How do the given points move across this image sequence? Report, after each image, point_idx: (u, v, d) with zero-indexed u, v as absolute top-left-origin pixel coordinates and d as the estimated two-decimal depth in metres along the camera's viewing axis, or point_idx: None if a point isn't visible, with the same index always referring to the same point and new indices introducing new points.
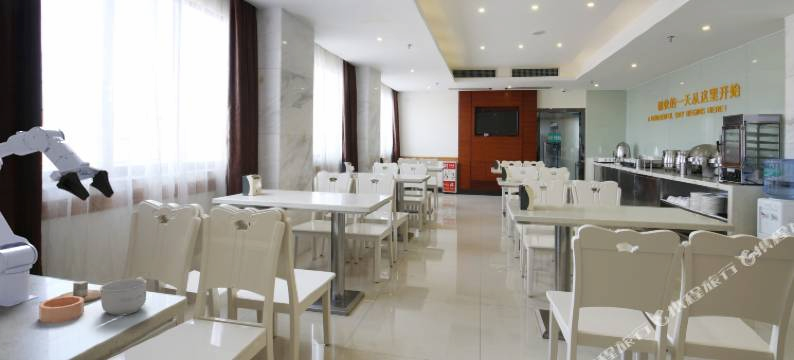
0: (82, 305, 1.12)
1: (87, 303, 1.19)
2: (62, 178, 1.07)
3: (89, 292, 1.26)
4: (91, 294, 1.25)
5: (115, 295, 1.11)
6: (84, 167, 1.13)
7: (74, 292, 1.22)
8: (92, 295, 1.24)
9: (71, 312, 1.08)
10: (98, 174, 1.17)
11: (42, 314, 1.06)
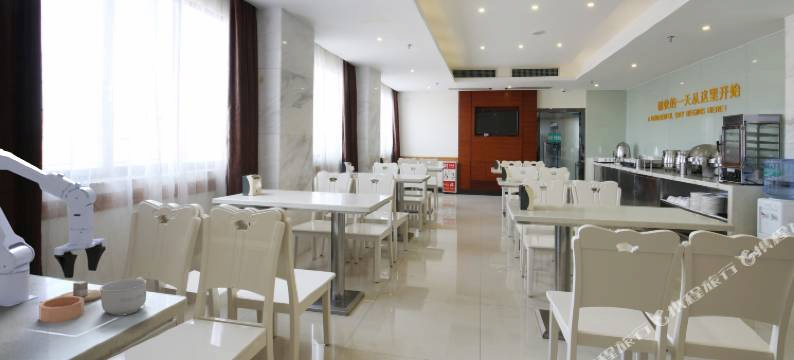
0: (82, 305, 1.12)
1: (87, 303, 1.19)
2: (62, 255, 1.16)
3: (89, 292, 1.26)
4: (91, 294, 1.25)
5: (115, 295, 1.10)
6: (88, 246, 1.22)
7: (74, 292, 1.22)
8: (92, 295, 1.24)
9: (71, 312, 1.08)
10: (96, 249, 1.26)
11: (42, 314, 1.06)
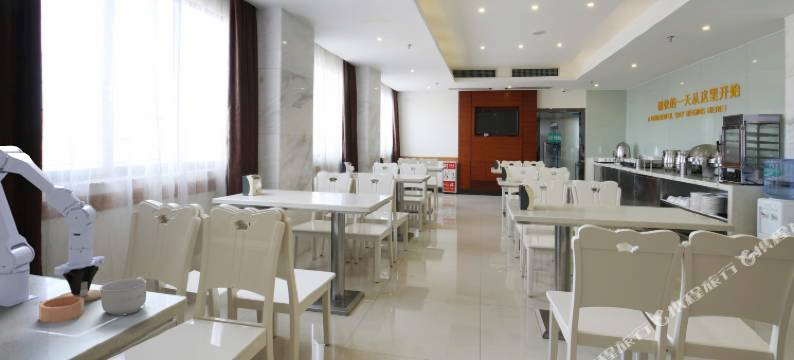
0: (82, 305, 1.12)
1: (87, 303, 1.19)
2: (70, 273, 1.19)
3: (89, 292, 1.26)
4: (91, 294, 1.25)
5: (115, 295, 1.11)
6: (88, 265, 1.22)
7: None
8: (92, 295, 1.24)
9: (71, 312, 1.08)
10: (89, 269, 1.24)
11: (42, 314, 1.06)
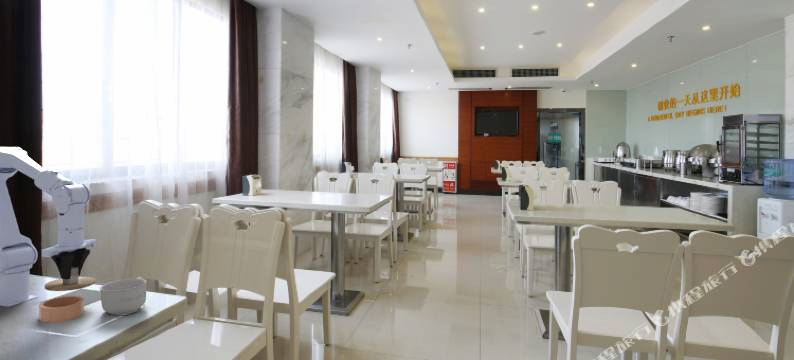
0: (82, 305, 1.12)
1: (87, 303, 1.19)
2: (59, 256, 1.11)
3: (80, 279, 1.18)
4: (82, 281, 1.16)
5: (115, 295, 1.11)
6: (79, 248, 1.14)
7: None
8: (83, 282, 1.16)
9: (71, 312, 1.08)
10: (80, 252, 1.16)
11: (42, 314, 1.06)
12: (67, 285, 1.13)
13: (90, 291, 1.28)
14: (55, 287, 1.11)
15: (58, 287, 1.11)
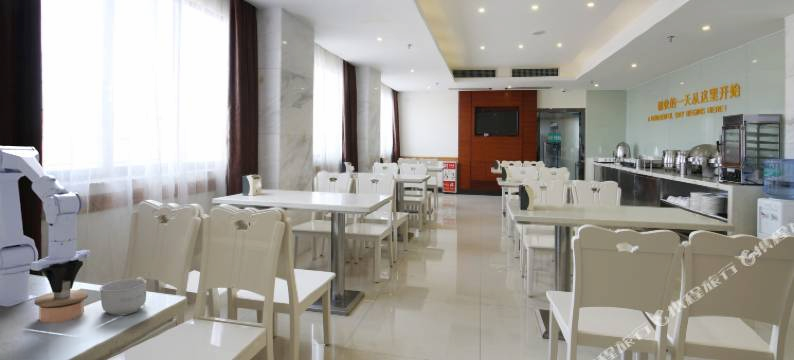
0: (82, 305, 1.12)
1: (87, 303, 1.19)
2: (49, 268, 1.06)
3: (72, 293, 1.13)
4: (74, 295, 1.11)
5: (115, 295, 1.10)
6: None
7: (55, 293, 1.09)
8: (75, 296, 1.11)
9: (71, 312, 1.08)
10: (72, 264, 1.11)
11: (42, 314, 1.06)
12: (58, 300, 1.07)
13: (90, 291, 1.28)
14: (45, 302, 1.06)
15: (48, 302, 1.06)
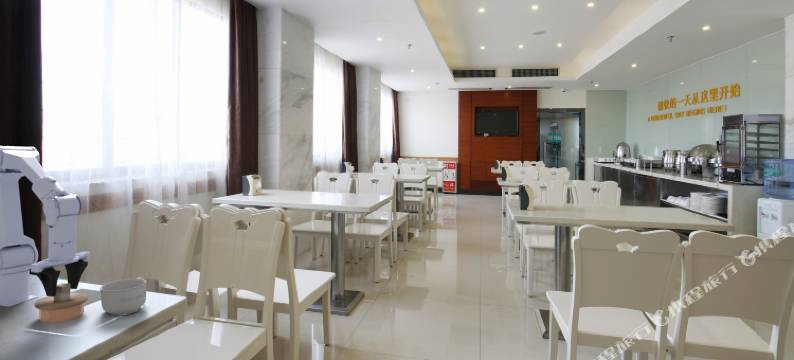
0: (82, 305, 1.12)
1: (87, 303, 1.19)
2: (43, 272, 1.04)
3: (72, 296, 1.13)
4: (75, 298, 1.11)
5: (115, 295, 1.11)
6: (70, 261, 1.09)
7: (55, 296, 1.09)
8: (75, 299, 1.11)
9: (71, 312, 1.08)
10: (77, 265, 1.12)
11: (42, 314, 1.06)
12: (58, 303, 1.08)
13: (90, 291, 1.28)
14: (45, 305, 1.06)
15: (48, 305, 1.06)
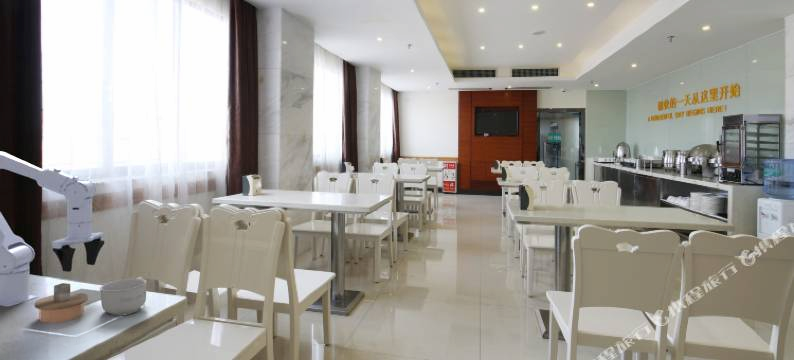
0: (82, 305, 1.12)
1: (87, 303, 1.19)
2: (60, 249, 1.16)
3: (72, 296, 1.13)
4: (75, 298, 1.11)
5: (115, 295, 1.11)
6: None
7: (55, 296, 1.09)
8: (75, 299, 1.11)
9: (71, 312, 1.08)
10: (95, 243, 1.26)
11: (42, 314, 1.06)
12: (58, 303, 1.08)
13: (90, 291, 1.28)
14: (45, 305, 1.06)
15: (48, 305, 1.06)
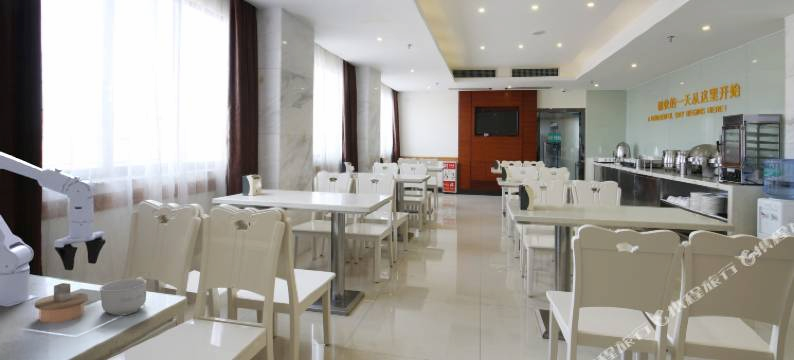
0: (82, 305, 1.12)
1: (87, 303, 1.19)
2: (62, 248, 1.17)
3: (72, 296, 1.13)
4: (75, 298, 1.11)
5: (115, 295, 1.11)
6: None
7: (55, 296, 1.09)
8: (75, 299, 1.11)
9: (71, 312, 1.08)
10: (96, 242, 1.27)
11: (42, 314, 1.06)
12: (58, 303, 1.08)
13: (90, 291, 1.28)
14: (45, 305, 1.06)
15: (48, 305, 1.06)
